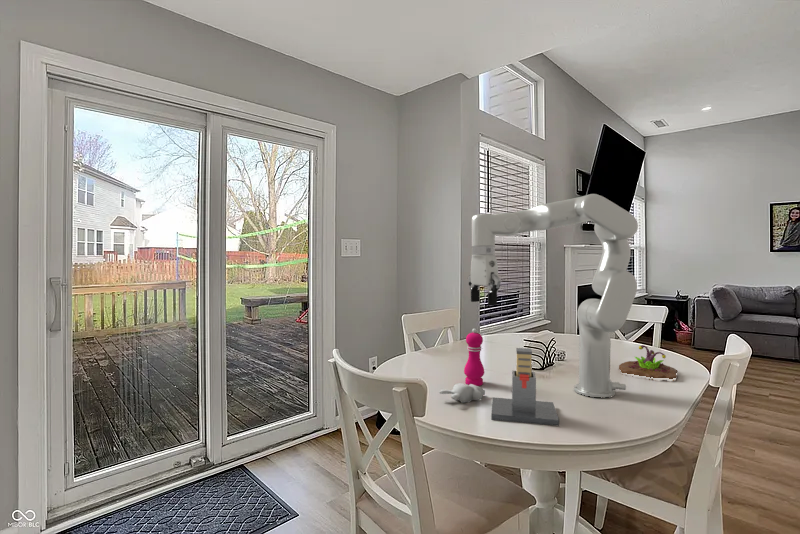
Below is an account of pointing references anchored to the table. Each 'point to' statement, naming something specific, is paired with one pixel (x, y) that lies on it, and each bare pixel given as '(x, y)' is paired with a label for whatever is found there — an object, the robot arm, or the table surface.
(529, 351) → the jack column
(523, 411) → the sleeve
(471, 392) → the grey toy animal
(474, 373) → the pepper mill
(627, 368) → the plant
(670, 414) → the table surface
